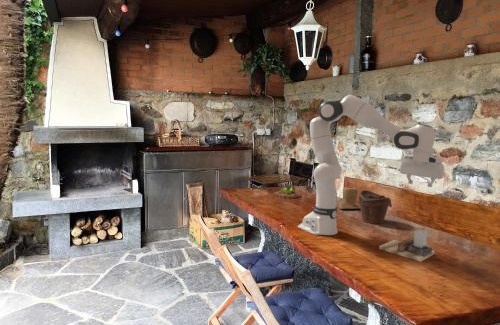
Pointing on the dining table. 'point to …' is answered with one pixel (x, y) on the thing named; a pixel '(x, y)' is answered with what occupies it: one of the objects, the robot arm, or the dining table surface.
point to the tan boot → (349, 199)
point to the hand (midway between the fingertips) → (419, 185)
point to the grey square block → (420, 239)
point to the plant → (287, 193)
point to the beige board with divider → (407, 249)
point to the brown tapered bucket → (373, 207)
